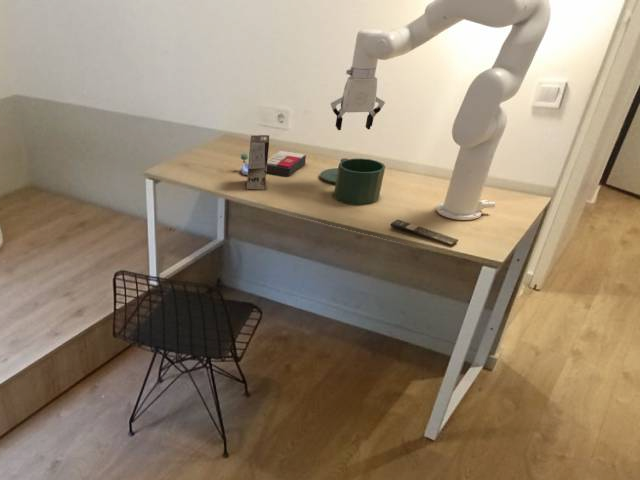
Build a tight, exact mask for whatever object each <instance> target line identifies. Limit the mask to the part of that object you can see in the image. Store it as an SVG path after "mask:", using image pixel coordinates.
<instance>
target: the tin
mask: <svg viewBox="0 0 640 480" xmlns="http://www.w3.org/2000/svg"><path fill="white" fill-rule="evenodd" d="M347 159H348V160H344V161H342V162H341V161H340V162H339V164H338V166H337V168H338V173H337V179H336V183H335V186H334V191H333V197H334V199H335V200H337V201H339V202H340V203H343V204H347V205H356V206H363V205H364V206H365V205H372V204H374V203H377V201H379V197H380V195H381V191H382V190H381V189H382V186H383V180H384V176H385V170H386V165H385V164H384V163H383V162H380V161H378V160H375V159H371V158H360V157H359V158H347Z"/></svg>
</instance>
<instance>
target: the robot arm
mask: <svg viewBox="0 0 640 480" xmlns="http://www.w3.org/2000/svg"><path fill="white" fill-rule="evenodd" d="M551 10H552V9H551V4H550V0H433V1H431V2H430V3H428V4H427V5H426V6H425V9H424V13H423V14H422V15H421V16H419V17H418V18H416V19H414V20H412V21H411V22H409V23H408V24H406V25H404V26H403V27H399V28H396V29H391V30H388V31H384V32H383V31H382V30H381V29H380V28H379V29H378V28H372V27H370V28H369V27H367V28H362V29H360V30H358V32H357V34H356V38H355V45H354V51H353V57H352V63H351V66H350V68H349V69H347V70H346V71H345V73H346V75H348V77H347V78H346V82H345V84H344V85H345V86H344V88H343V91H342V95H341V97H339V98H337V99H335V100H334V101H331V102H330V107H331V110H332V112H333V113H334V114H335V116H336V119H335V127H336V130H337V131H341V130H342V125H343V116H344V115H345V114H346V113H368V115H367V116H366V122H365V128H366V129H367V130H371V127H372V126H373V122H374V117H376V115H377V114H379V112H381V110H382V108H383V107H384V105H385V103H386V102H385V100H383V99H381V98H379V97H378V96H377V90H378V77H376V73H377V66H378V62H379V60H380V61H381V60H382V61H386V60H387V61H388V60H391V59H393V58H397V57H401V56H404V55H407V54H408V53H409V52H411V51H414V50H415V49H417V48H419V47H421V46H423V45H425V44H426V43H428V42H429V41H431V40H432V39H434V38H435V37H437V36H439V34H441V33H443V32H444V31H446V30H448V29H450V28H451V27H453V26H454V25H456V24H458V23H460V22H462V21H464V20H465V21H469V22H472V23H475V24H478V25H481V26H486V27H489V28H495V29H502V28H506V27H509V26H511V29H510V31H509V33H508V34H507V36H506V38H505V39H504V41H503V43H502V45H501V47H500V50H499V52H498V53H497V57H496V59H495V60H494V63H493V64H492V66H491V67H490V68H488V69H485V70H483V71H482V72H480V73H479V74H478V75H476V77H475V78H474V79H473V80H472V82H471V83H470V85H469V86H468V88H467V90H466V93H465V94H464V97H463V100H462V102H461V104H460V106H459V109H458V112H457V114H456V116H455V119H454V121H453V123H452V127H451V135H452V139H453V141H454V143H455V144H456V145H457V146H459V150H458V153H457V156H456V160H455V162H454V166H453V170H452V174H451V176H450V181H449V185H448V188H447V191H446V195H445V198H444V201H443V202H442V203H440V204H438V205H437V208H436V212H437V214H439V215H441V216H442V217H445V218H448V219H452V220H457V221H458V220H459V221H472V220H476V219H478V218H480V217H481V216H482V213H483V212H482V210H484V209H495V207H496V202H495V201H488V199H481V198H482V195H483V192H484V188H485V184H486V182H487V179H488V175H489V173H490V169H491V166H492V163H493V159H494V157H495V154H496V152H497V151H496V150H497V148H498V145H499V143H500V142H501V139H502V137H503V134H504V132H505V129H506V127H507V122H508V116H507V113H506V110H505V109H504V108H503V107H502V106H501V104H502V103H504V102H506V101H508V100H511V99H512V98H514V97H515V95H517V93H518V92H519V90H520V89H521V86H522V84H523V82H524V80H525V78H526V75H527V73H528V71H529V69H530V67H531V65H532V62H533V61H534V59H535V56H536V54H537V52H538V50H539V47H540V45H541V43H542V41H543V39H544V36H545V34H546V32H547V31H548V26H549V23H550V20H551V12H552V11H551ZM376 103H377V106H376ZM338 105H340V108H339V109H337V106H338Z"/></svg>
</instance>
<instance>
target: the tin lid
mask: <svg viewBox="0 0 640 480" xmlns="http://www.w3.org/2000/svg"><path fill="white" fill-rule="evenodd" d="M348 159H349V158H341V159H340V162H342V161H344V160H348ZM337 173H338V167H335V168H334V167H333V168H328V169H325V170H322V171H321V172H320V174H319V177H320V178H321V180H323V181H325V182H328V183H330V184H336V179H337Z"/></svg>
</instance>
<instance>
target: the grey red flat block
mask: <svg viewBox="0 0 640 480" xmlns="http://www.w3.org/2000/svg"><path fill="white" fill-rule="evenodd" d="M306 157H307V155H306V154H303V153H299V152H298V153H297V152H291V151H284V150H278V152H276V153H274V154H272V156H271V157H268V161H267V171H266V174H273V175H277V176H284V177H291V175H293V174H294V173H296V172H297V171H298V170H299V169H301V168H303V167H304V166H305V165H306V160H307V159H306Z"/></svg>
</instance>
